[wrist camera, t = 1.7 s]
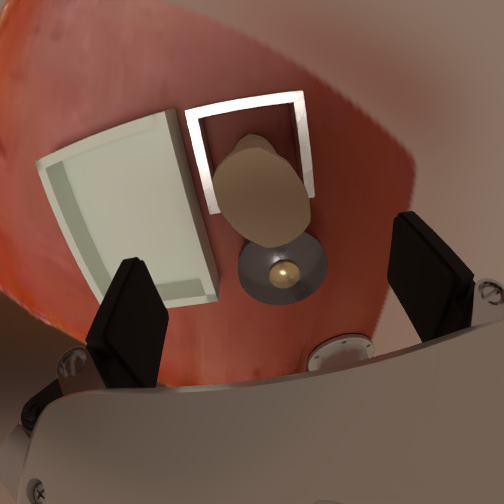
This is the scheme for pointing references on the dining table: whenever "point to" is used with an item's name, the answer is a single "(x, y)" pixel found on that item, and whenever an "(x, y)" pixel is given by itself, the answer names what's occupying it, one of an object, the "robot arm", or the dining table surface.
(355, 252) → the dining table surface
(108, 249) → the tray
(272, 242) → the handle
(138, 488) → the robot arm
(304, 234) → the bracket
